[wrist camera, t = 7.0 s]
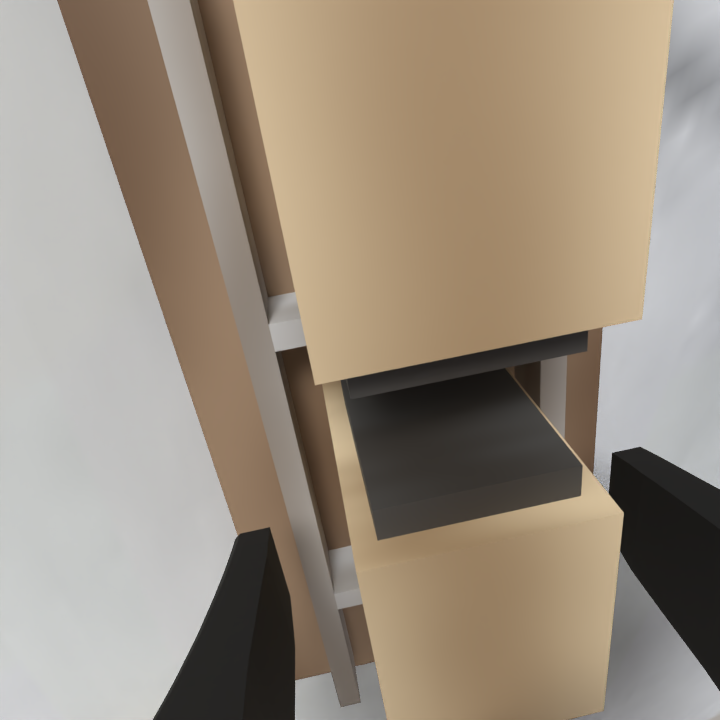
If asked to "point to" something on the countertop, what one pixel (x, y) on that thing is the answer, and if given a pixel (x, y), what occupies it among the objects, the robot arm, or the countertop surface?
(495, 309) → the rail board
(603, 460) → the countertop surface
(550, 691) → the block
